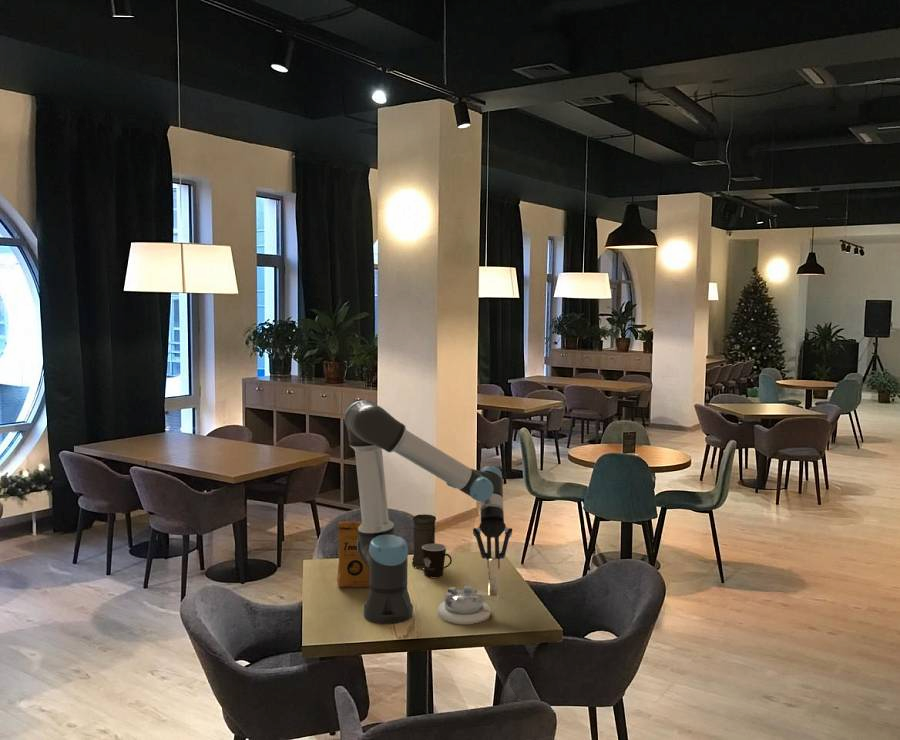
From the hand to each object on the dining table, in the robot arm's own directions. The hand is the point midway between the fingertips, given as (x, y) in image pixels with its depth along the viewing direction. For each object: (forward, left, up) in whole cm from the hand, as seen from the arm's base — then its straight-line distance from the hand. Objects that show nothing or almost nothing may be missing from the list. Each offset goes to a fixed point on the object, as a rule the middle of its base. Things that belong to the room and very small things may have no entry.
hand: (493, 578), depth 253 cm
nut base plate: (-6, +6, -11) cm, 15 cm away
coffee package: (-11, +50, -12) cm, 53 cm away
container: (+20, +47, -12) cm, 53 cm away
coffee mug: (+14, +36, -12) cm, 41 cm away
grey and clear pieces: (-5, +4, -9) cm, 12 cm away
